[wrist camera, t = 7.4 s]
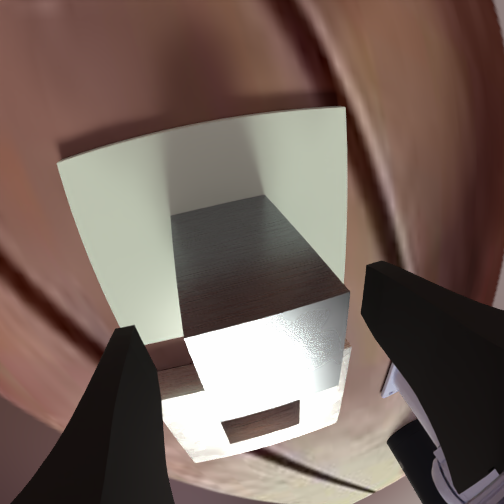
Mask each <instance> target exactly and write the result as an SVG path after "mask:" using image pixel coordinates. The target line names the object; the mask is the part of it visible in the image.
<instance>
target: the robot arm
mask: <svg viewBox="0 0 504 504" xmlns="http://www.w3.org/2000/svg"><path fill="white" fill-rule="evenodd" d="M361 315H362V317H363V318H364V320H365V322H366V324H367V326H368V328H369V329H370V331H371V333H372V334H373V336H374V338H375V339H376V341H377V342H378V343H379V345H380V346H381V347H382V349H383V350H384V351H385V353H386V354H387V356H388V357H389V358H390V360H391V361H392V364H391V367H390V370H389V373H388V376H387V379H386V382H385V385H384V387H383V390H382V393H381V396H382V398H386V397H388V396H390V395H392V394H394V393H396V392H398V391H399V392H400V394H401V395H402V397H403V398H404V400H405V401H406V402H407V404H408V405H409V407H410V408H411V410H412V411H413V413H414V414H415V416H416V417H417V418H418V420H419V421H420V423H421V424H422V426H423V427H424V429H425V430H426V432H427V433H428V435H429V436H430V438H431V439H432V441H433V442H434V444H435V445H436V447H437V448H438V449H437V450H436V451H434V452H433V453H434V455H435V456H436V458H435V459H434V460H433V466H432V478H433V481H434V483H435V486H436V488H437V490H438V491H439V493H440V495H441V496H442V497H443V499H444V500H445V501H446V502H447V503H448V504H504V310H500V309H497V308H494V307H491V306H488V305H485V304H482V303H479V302H477V301H474V300H471V299H469V298H467V297H464V296H462V295H459V294H457V293H454V292H452V291H450V290H448V289H445V288H443V287H441V286H439V285H437V284H434V283H432V282H430V281H428V280H426V279H424V278H421V277H419V276H417V275H415V274H413V273H411V272H408V271H406V270H404V269H402V268H400V267H397V266H395V265H393V264H390V263H387V262H385V261H379V262H375V263H372V264H369V265H366V275H365V284H364V292H363V300H362V308H361ZM11 504H175V503H174V500H173V495H172V491H171V487H170V483H169V478H168V473H167V467H166V458H165V446H164V432H163V416H162V399H161V393H160V386H159V380H158V374H157V369H156V367H155V365H154V363H153V361H152V359H151V357H150V355H149V353H148V352H147V349H146V347H145V345H144V343H143V341H142V339H141V337H140V335H139V333H138V331H137V329H136V327H135V325H131V326H126V327H122V328H117V329H115V331H114V332H113V334H112V336H111V338H110V340H109V342H108V345H107V347H106V349H105V351H104V353H103V355H102V357H101V359H100V362H99V364H98V366H97V368H96V370H95V372H94V374H93V376H92V378H91V380H90V382H89V384H88V387H87V389H86V391H85V393H84V395H83V396H82V398H81V400H80V402H79V404H78V406H77V408H76V410H75V412H74V414H73V416H72V417H71V419H70V421H69V423H68V425H67V426H66V428H65V430H64V432H63V433H62V435H61V436H60V438H59V440H58V441H57V443H56V445H55V446H54V448H53V449H52V451H51V452H50V454H49V455H48V457H47V458H46V459H45V461H44V462H43V463H42V465H41V466H40V468H39V469H38V471H37V472H36V474H35V475H34V476H33V477H32V479H31V480H30V481H29V483H28V484H27V485H26V486H25V487H24V489H23V490H22V491H21V493H19V495H18V496H17V497H16V498H15V499H14V500H13V501H12V503H11Z"/></svg>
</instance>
